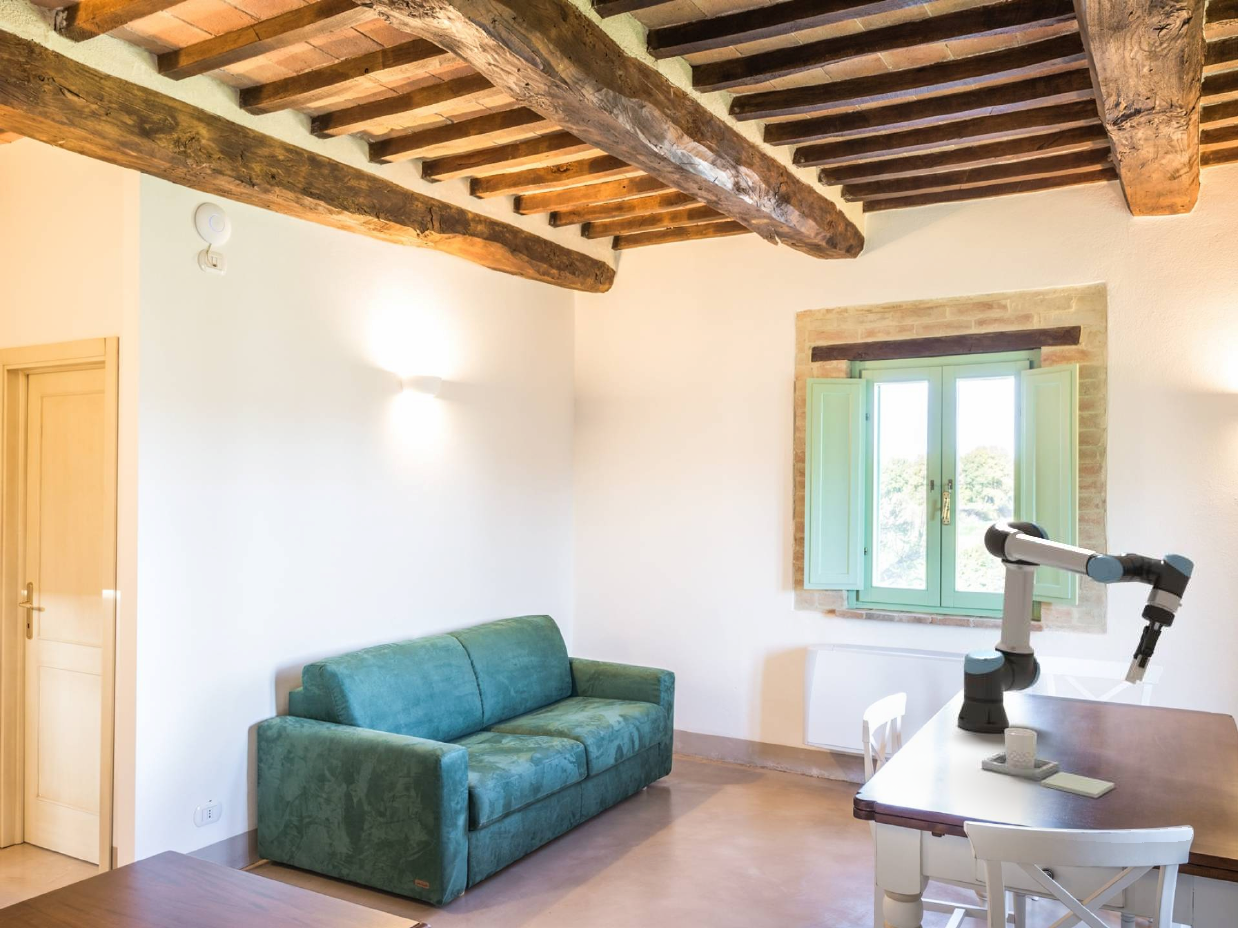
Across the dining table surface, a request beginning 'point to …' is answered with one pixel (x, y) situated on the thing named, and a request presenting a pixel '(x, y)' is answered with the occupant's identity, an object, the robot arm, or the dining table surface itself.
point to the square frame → (1038, 774)
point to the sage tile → (1078, 784)
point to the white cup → (1020, 747)
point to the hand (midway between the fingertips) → (1132, 680)
